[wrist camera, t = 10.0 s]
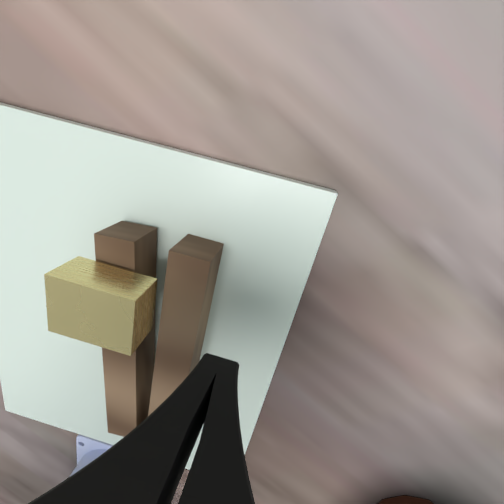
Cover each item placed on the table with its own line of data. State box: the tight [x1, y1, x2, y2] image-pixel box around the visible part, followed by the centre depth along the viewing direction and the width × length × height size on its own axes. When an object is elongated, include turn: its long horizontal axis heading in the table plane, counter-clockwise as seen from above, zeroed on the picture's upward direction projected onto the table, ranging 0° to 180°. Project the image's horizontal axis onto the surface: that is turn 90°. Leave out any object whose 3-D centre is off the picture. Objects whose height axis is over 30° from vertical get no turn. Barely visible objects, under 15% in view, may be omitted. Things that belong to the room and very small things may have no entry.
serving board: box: [0, 102, 338, 470], centre depth 19 cm, size 24×20×1 cm
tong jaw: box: [94, 221, 157, 437], centre depth 17 cm, size 14×2×2 cm, turn 171°
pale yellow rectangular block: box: [44, 256, 158, 356], centre depth 13 cm, size 3×4×2 cm
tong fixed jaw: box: [148, 234, 224, 416], centre depth 17 cm, size 18×4×3 cm, turn 167°
